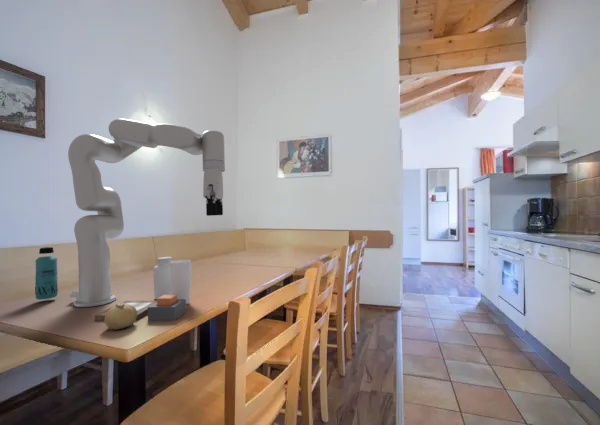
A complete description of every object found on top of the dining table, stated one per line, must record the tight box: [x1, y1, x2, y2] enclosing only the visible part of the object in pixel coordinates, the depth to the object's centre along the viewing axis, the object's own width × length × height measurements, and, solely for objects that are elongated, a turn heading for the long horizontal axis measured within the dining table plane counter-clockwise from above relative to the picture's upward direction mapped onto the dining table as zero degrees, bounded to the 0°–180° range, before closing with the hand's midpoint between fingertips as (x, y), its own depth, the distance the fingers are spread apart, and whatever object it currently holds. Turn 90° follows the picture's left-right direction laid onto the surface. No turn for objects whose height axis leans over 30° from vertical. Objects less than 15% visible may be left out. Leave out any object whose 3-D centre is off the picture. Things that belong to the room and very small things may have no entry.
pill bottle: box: [153, 256, 174, 300], centre depth 115 cm, size 8×8×15 cm
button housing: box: [147, 299, 187, 322], centre depth 93 cm, size 8×8×4 cm
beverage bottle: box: [34, 246, 59, 300], centre depth 113 cm, size 6×7×20 cm
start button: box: [156, 295, 177, 306], centre depth 93 cm, size 4×4×3 cm
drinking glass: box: [170, 259, 192, 306], centre depth 106 cm, size 7×7×15 cm
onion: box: [103, 302, 137, 330], centre depth 85 cm, size 8×8×7 cm
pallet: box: [94, 300, 157, 321], centre depth 98 cm, size 13×15×2 cm
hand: (215, 215), depth 107 cm, fingers open, 9 cm apart
